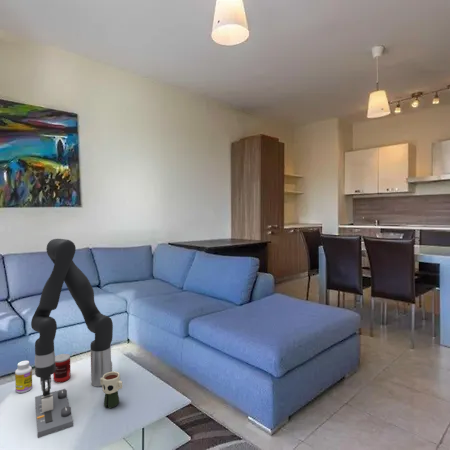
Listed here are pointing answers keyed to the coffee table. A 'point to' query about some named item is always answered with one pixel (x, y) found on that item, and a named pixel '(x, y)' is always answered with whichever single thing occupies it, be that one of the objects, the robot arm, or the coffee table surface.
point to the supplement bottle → (23, 377)
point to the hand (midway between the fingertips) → (46, 401)
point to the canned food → (62, 368)
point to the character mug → (111, 388)
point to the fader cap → (47, 403)
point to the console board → (54, 414)
